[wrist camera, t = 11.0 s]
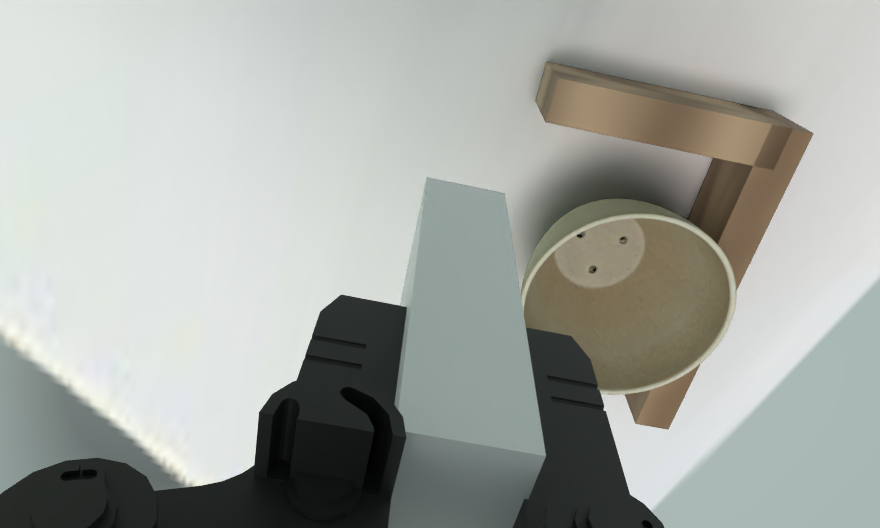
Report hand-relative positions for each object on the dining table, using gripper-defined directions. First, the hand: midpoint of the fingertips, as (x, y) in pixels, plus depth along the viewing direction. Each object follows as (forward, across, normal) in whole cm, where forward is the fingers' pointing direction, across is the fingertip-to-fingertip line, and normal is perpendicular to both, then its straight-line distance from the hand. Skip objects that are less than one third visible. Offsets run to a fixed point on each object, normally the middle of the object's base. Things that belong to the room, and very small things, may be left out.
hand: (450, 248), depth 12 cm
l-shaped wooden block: (+21, +11, -9) cm, 25 cm away
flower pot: (+21, +10, -9) cm, 25 cm away
